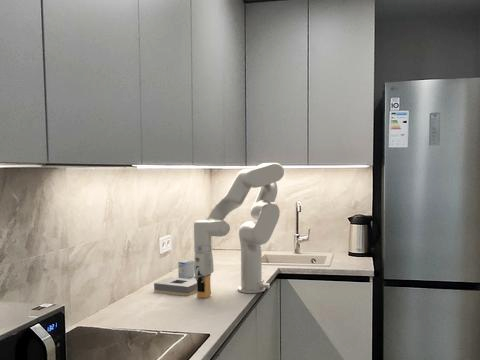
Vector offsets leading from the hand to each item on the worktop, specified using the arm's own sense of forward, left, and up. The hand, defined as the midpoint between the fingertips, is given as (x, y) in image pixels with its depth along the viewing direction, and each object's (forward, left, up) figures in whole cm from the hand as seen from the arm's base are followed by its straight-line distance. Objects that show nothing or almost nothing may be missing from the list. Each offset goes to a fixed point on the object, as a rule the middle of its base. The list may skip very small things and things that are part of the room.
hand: (203, 289), depth 212 cm
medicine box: (+27, -31, -3) cm, 41 cm away
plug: (0, 0, -3) cm, 3 cm away
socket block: (+16, -6, -3) cm, 17 cm away
